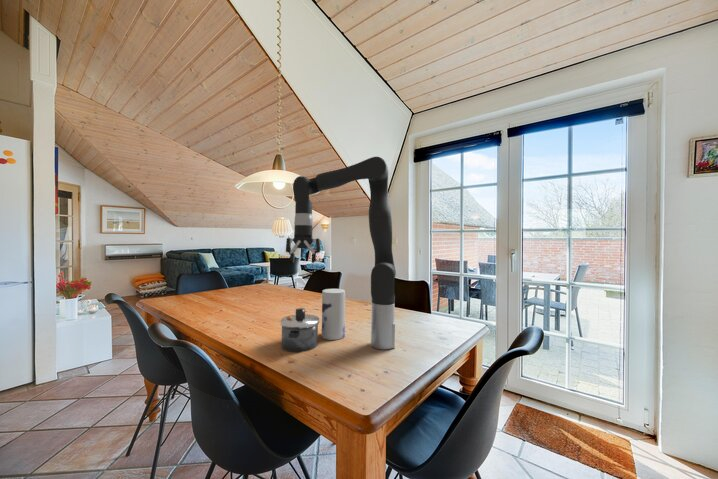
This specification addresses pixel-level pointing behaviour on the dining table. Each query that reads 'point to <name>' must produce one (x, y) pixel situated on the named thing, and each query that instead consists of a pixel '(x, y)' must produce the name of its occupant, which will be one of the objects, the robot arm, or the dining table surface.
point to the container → (333, 314)
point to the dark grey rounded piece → (299, 339)
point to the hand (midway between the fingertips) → (302, 262)
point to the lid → (299, 320)
